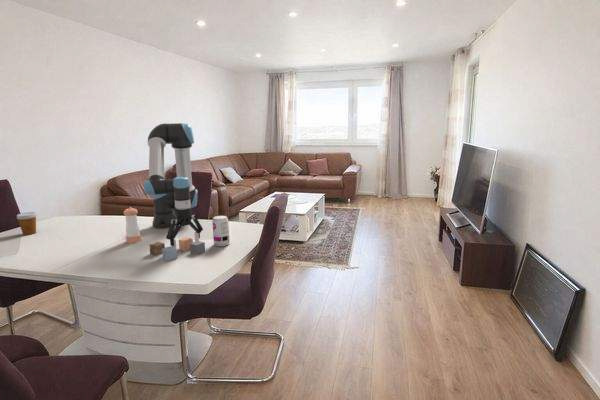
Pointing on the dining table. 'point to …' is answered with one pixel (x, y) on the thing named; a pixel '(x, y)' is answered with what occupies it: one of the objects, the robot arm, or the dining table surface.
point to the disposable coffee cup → (27, 222)
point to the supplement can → (220, 230)
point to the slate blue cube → (169, 253)
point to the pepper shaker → (132, 226)
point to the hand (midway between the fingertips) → (186, 248)
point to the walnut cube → (156, 248)
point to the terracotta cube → (185, 243)
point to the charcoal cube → (197, 247)
